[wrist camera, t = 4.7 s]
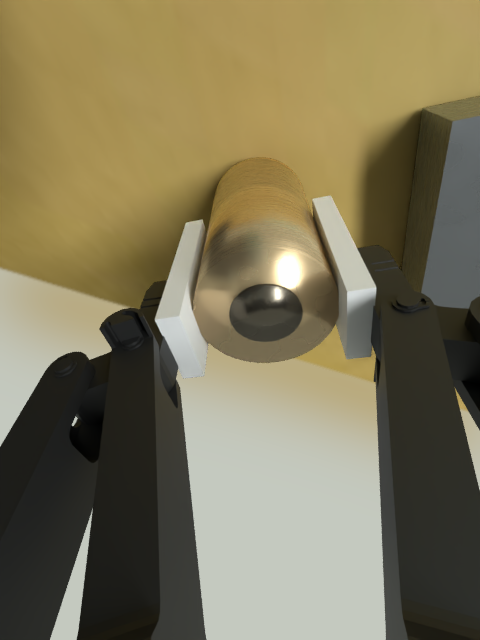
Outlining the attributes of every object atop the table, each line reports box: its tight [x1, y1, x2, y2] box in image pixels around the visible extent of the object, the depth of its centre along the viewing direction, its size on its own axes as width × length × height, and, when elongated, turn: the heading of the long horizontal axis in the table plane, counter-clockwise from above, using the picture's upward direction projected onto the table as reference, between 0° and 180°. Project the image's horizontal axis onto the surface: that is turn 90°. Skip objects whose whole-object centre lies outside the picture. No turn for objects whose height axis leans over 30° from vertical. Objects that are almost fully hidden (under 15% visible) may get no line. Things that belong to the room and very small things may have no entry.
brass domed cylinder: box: [193, 157, 339, 363], centre depth 14 cm, size 5×5×9 cm
